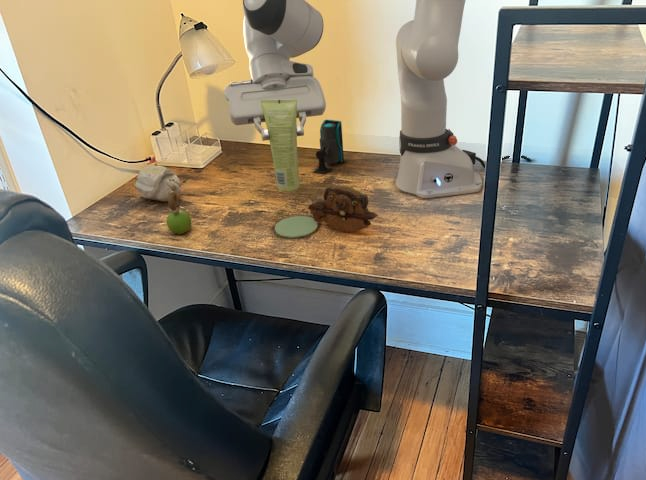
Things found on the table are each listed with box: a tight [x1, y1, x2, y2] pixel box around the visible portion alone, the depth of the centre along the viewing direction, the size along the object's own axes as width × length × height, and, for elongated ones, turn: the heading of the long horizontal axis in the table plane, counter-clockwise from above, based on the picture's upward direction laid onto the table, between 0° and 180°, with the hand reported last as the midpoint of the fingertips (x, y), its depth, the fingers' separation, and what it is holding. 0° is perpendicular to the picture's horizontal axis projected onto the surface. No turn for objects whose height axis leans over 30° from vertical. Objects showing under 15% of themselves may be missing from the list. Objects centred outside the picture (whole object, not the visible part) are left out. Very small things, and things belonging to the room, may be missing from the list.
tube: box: [260, 99, 300, 192], centre depth 114 cm, size 6×5×20 cm
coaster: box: [274, 215, 319, 239], centre depth 124 cm, size 10×10×1 cm
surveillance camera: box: [313, 119, 345, 175], centre depth 151 cm, size 6×12×10 cm
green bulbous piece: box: [166, 179, 192, 235], centre depth 122 cm, size 5×6×12 cm
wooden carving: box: [307, 185, 379, 233], centre depth 119 cm, size 16×5×10 cm, turn 70°
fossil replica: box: [134, 163, 182, 203], centre depth 140 cm, size 12×8×10 cm
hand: (283, 136), depth 112 cm, fingers closed on tube, 6 cm apart
